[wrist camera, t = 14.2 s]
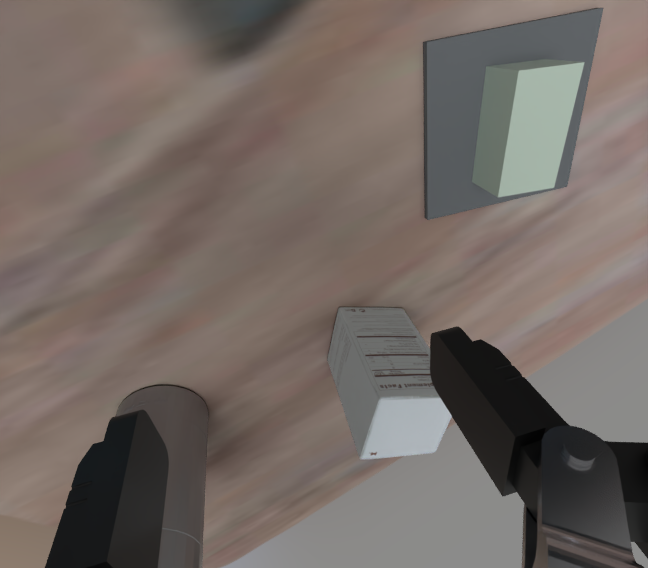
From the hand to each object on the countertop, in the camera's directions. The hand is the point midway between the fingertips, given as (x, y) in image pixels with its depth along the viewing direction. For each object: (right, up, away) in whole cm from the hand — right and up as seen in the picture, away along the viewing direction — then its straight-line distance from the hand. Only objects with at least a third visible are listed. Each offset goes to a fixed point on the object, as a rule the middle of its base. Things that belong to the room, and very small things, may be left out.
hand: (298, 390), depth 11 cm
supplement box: (+5, -2, +32) cm, 32 cm away
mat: (+16, +17, +22) cm, 32 cm away
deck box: (+16, +16, +22) cm, 31 cm away
